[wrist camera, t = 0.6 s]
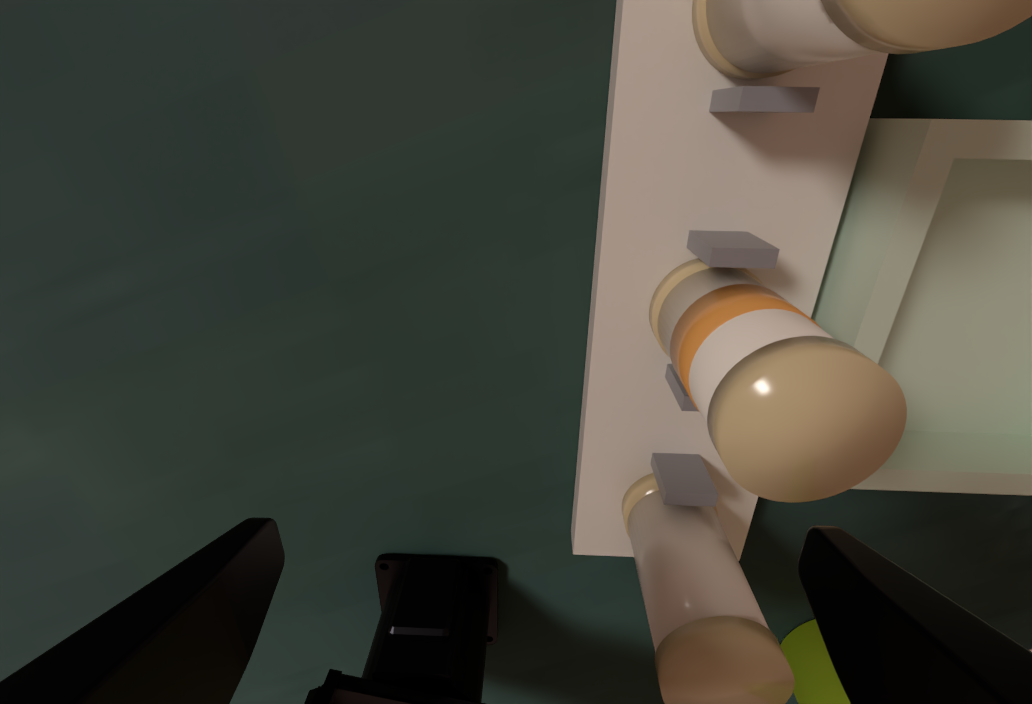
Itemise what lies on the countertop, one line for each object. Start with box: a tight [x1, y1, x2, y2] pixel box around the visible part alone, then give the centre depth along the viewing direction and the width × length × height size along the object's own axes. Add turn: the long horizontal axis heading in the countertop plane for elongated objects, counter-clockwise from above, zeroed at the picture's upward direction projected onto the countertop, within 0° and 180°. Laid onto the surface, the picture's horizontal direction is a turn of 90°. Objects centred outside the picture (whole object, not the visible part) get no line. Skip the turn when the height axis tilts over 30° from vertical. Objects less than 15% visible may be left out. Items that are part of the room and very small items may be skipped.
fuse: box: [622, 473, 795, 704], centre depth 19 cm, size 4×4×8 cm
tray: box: [811, 118, 1032, 495], centre depth 18 cm, size 13×12×4 cm
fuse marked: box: [649, 258, 907, 502], centre depth 15 cm, size 4×4×8 cm
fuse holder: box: [571, 0, 889, 561], centre depth 18 cm, size 26×8×4 cm, turn 179°
